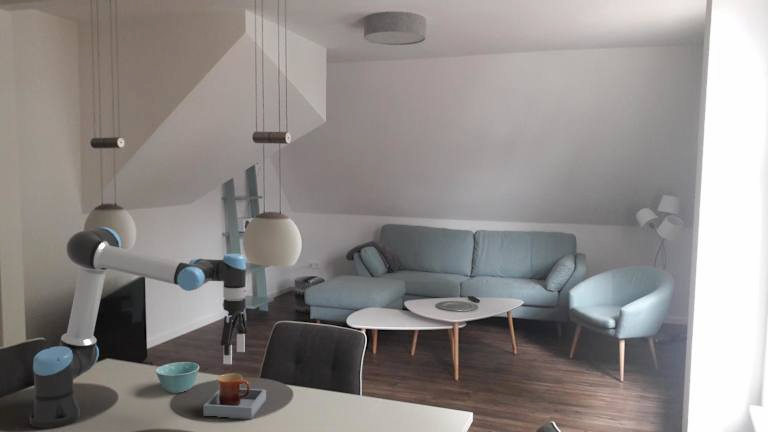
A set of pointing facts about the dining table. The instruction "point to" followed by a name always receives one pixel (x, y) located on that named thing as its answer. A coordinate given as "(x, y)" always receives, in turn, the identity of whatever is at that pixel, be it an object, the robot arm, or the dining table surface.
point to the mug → (231, 389)
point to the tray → (242, 411)
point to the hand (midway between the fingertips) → (234, 357)
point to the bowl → (177, 376)
